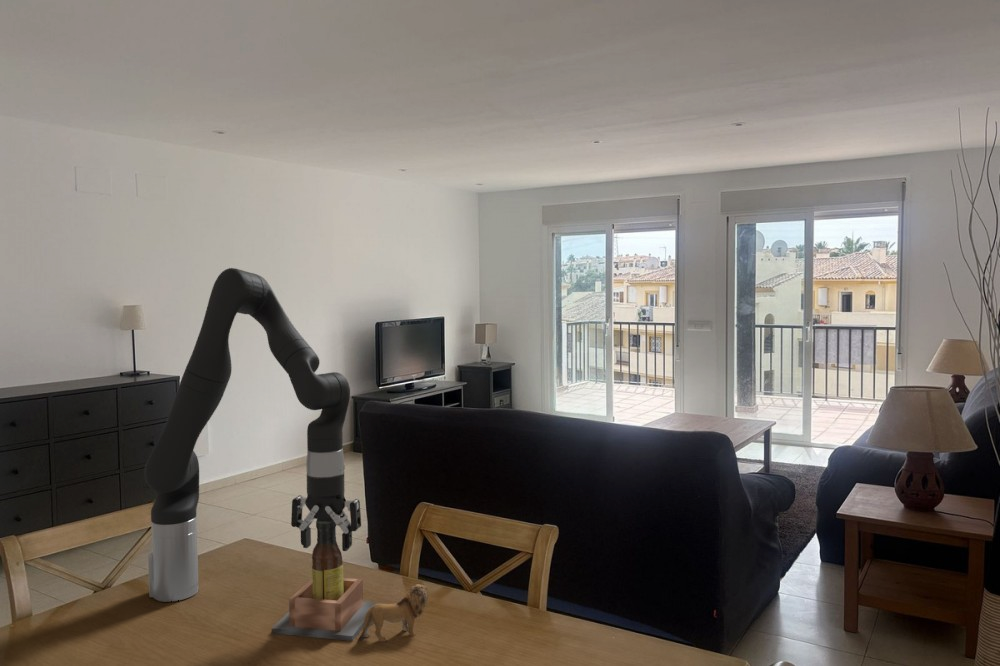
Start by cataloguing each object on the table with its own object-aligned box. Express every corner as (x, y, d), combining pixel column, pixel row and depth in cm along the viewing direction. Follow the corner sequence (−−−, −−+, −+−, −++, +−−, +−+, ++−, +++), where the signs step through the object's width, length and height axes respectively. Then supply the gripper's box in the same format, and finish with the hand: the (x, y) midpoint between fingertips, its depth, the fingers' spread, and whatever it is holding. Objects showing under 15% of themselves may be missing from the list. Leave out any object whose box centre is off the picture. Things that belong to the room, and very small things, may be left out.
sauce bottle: (347, 608, 152) (348, 516, 151) (338, 622, 146) (339, 525, 145) (317, 606, 153) (318, 514, 152) (306, 619, 146) (307, 523, 145)
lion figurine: (422, 621, 149) (421, 578, 148) (432, 631, 144) (432, 588, 144) (353, 638, 142) (352, 593, 141) (362, 650, 137) (361, 604, 136)
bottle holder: (271, 633, 143) (271, 601, 143) (305, 600, 158) (304, 571, 158) (352, 641, 140) (352, 608, 140) (379, 607, 155) (378, 577, 155)
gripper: (284, 473, 145) (285, 552, 146) (351, 477, 142) (352, 557, 143) (301, 464, 152) (302, 539, 153) (365, 467, 149) (366, 544, 151)
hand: (326, 548), depth 148 cm, fingers open, 8 cm apart
